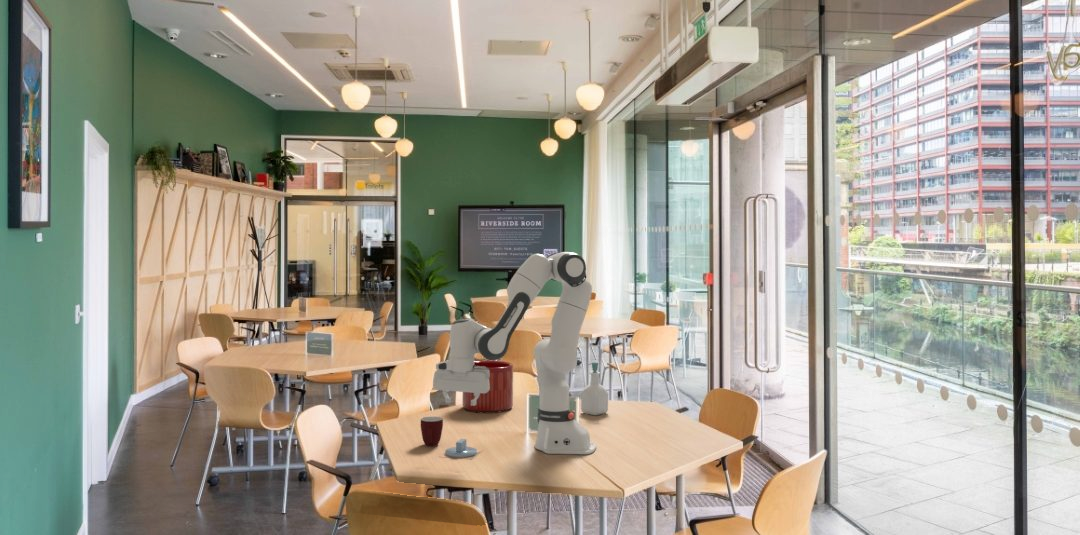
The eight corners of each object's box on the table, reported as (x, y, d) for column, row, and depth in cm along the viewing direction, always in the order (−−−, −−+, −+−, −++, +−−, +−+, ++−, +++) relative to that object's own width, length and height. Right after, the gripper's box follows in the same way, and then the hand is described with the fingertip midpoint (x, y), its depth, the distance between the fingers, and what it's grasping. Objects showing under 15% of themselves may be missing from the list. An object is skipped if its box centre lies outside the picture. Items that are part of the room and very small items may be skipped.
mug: (442, 450, 258) (443, 422, 258) (420, 451, 257) (420, 423, 256) (442, 443, 268) (442, 416, 268) (420, 443, 267) (420, 416, 267)
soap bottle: (594, 410, 328) (594, 360, 327) (609, 413, 320) (610, 362, 320) (579, 413, 321) (579, 362, 321) (595, 416, 314) (595, 364, 314)
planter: (492, 416, 314) (493, 369, 313) (452, 409, 326) (452, 365, 326) (522, 406, 333) (523, 363, 333) (483, 400, 346) (483, 359, 345)
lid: (481, 450, 256) (481, 437, 256) (470, 459, 246) (470, 445, 245) (452, 448, 259) (452, 435, 259) (440, 456, 248) (440, 443, 248)
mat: (482, 451, 257) (482, 450, 257) (471, 461, 245) (471, 459, 245) (451, 449, 259) (451, 447, 259) (438, 458, 248) (438, 456, 248)
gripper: (492, 365, 252) (491, 404, 253) (438, 361, 258) (437, 400, 258) (487, 367, 246) (486, 408, 246) (431, 364, 251) (430, 403, 252)
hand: (460, 404), depth 252 cm, fingers open, 8 cm apart
